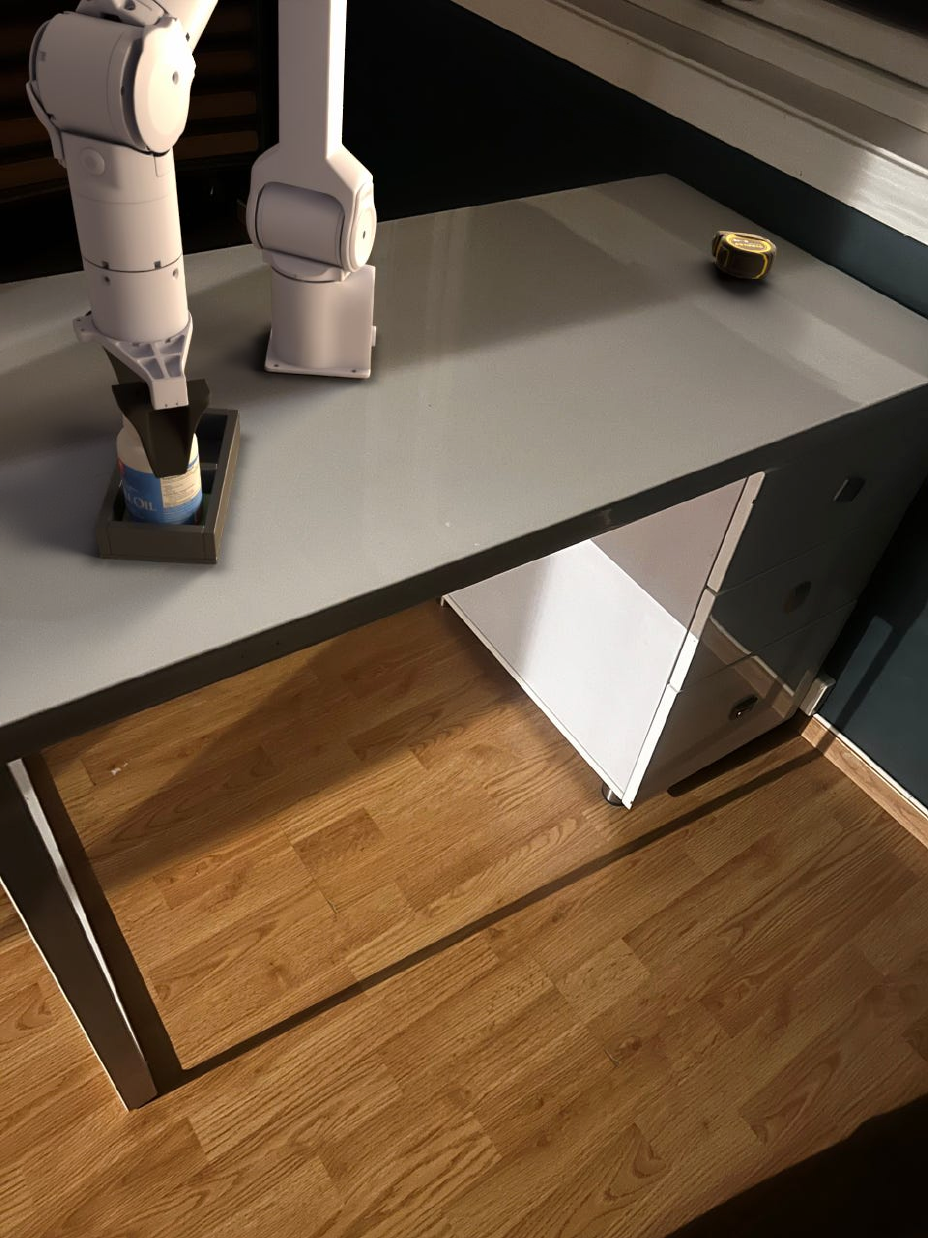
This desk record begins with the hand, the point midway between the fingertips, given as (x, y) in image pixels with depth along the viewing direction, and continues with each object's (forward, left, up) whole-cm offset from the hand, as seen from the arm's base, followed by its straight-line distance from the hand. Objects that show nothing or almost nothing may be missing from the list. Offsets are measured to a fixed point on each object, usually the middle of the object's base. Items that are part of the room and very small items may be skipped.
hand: (157, 440), depth 67 cm
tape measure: (-57, -52, -8) cm, 77 cm away
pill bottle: (0, 0, -7) cm, 7 cm away
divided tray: (0, -4, -8) cm, 8 cm away
